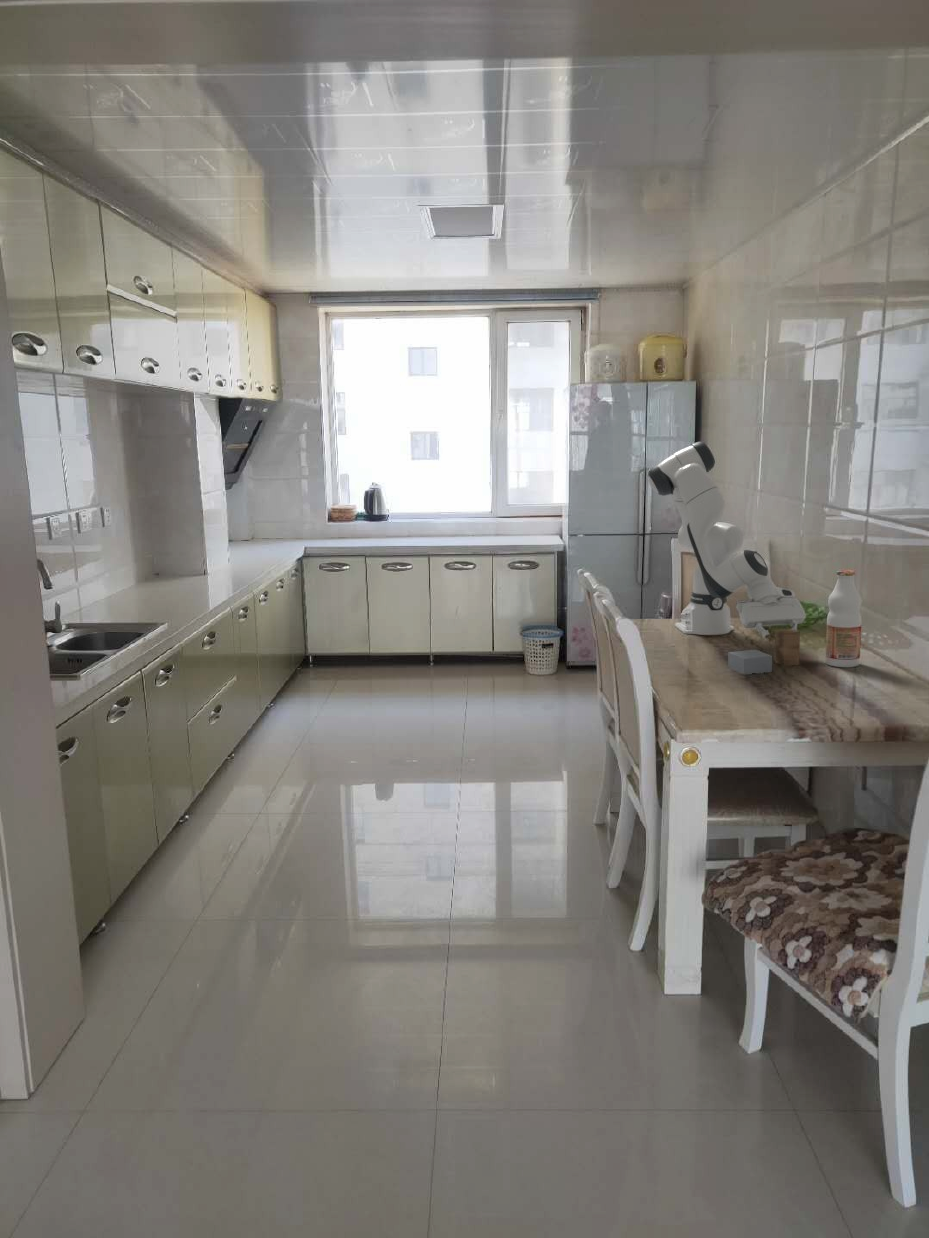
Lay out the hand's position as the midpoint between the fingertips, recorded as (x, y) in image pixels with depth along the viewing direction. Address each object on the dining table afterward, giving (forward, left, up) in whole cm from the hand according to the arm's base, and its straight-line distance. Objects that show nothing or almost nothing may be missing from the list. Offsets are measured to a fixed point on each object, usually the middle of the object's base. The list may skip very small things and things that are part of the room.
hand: (780, 635), depth 273 cm
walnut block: (+2, +1, -8) cm, 8 cm away
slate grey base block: (+5, -13, -8) cm, 17 cm away
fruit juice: (+9, +15, -8) cm, 19 cm away
